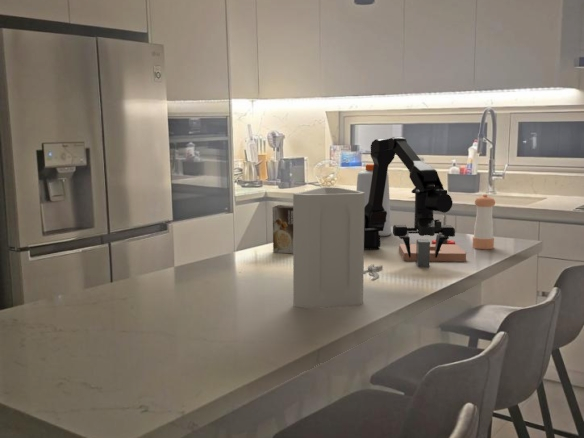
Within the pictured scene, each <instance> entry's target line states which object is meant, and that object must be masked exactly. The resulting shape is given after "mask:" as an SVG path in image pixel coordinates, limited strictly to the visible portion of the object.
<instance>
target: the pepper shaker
mask: <svg viewBox="0 0 584 438" xmlns="http://www.w3.org/2000/svg"><path fill="white" fill-rule="evenodd" d="M474 204H475V206H476V215H475V223H474V227H473V228H474V229H473V237H472V248H474V249H478V250H493V249H494V247H495V242H494V241H495V238H494V223H493V222H494V221H493V211H494V209H493V207H494V206H495V204H496V200H495V199H494V198H493V197H491V196H488V194H483V195H482V196H478V197H476V199H475V200H474Z"/></svg>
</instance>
